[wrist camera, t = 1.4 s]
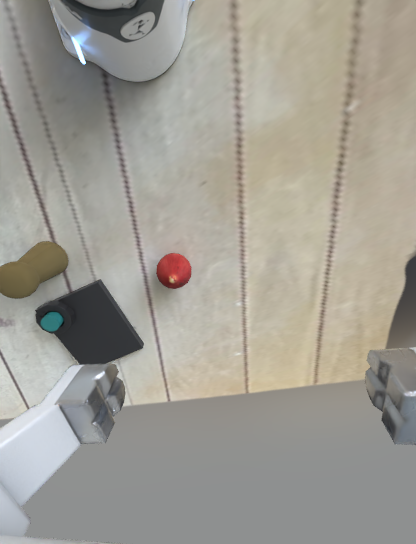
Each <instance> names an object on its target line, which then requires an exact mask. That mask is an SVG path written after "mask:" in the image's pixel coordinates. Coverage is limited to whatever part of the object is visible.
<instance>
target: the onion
mask: <svg viewBox="0 0 416 544" xmlns="http://www.w3.org/2000/svg"><path fill="white" fill-rule="evenodd" d="M156 274H157V277H158V279H159V281H160V282H161V283H162V284H163V285H164V286H166V287H168V288H172V289H176V288H180V287H182V286H184V285H185V284H186V283H188V281H189V279H190V277H191V266H190V263H189V261H188V260H187V259H186V258H185V257H184V256H182V255H180V254H175V253H171V254H168V255H166V256H164V257H163V258H162V259H161V260H160V261H159V263H158V265H157V272H156Z"/></svg>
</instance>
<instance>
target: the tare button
mask: <svg viewBox="0 0 416 544" xmlns="http://www.w3.org/2000/svg"><path fill="white" fill-rule="evenodd" d="M62 323H63V317H62V315H61V314H59V313H58V312H49V313H47V314H46V315H45V317H44V318H43V319H42V320H41V326H42V327H43V328H44V329H45V330H47V331H56V330H57V329H58V328H59V327H60V325H61V324H62Z"/></svg>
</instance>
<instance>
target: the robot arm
mask: <svg viewBox="0 0 416 544" xmlns="http://www.w3.org/2000/svg"><path fill="white" fill-rule="evenodd" d="M48 2H49V5H50V7H51V10H52V13H53V16H54V19H55V22H56V25H57V28H58V30H59V33H60V36H61V39H62V42H63V45H64V47H65V48H66V50H67V51H68V52H69V54H70V55H72V56H73V57H76V58H78V59H80V61H81V62H82V63H83V64H86V63H85V60H86V61H91V62H93V63H95V64H97V65H98V66H100V67H101V68H102V69H104V70H105V71H107V72H108V73H110V74H111V75H113V76H115V77H117V78H120V79H123V80H126V81H132V82H142V81H147V80H151V79H153V78H156V77H158V76H159V75H161V74H162V73H164V72H165V71H166V70H167V69H168V68H169V67H170V66H171V65H172V64H173V62H174V61H175V59H176V58H177V56H178V54H179V52H180V50H181V47H182V44H183V41H184V37H185V32H186V24H187V16H188V11H189V8H190V6H191V4H192V2H193V0H48ZM68 34H69V36H68ZM367 361H368V363H369V365H370V366H371V367H370V368H369V369H368V370H367V371H366V374H365V383H366V388H367V392H368V394H369V397H370V399H371V401H372V403H373V405H374V406H375V407H377V408H378V409H379V410H381V411H382V412H383V414H382V422H383V423H384V425H385V427H386V429H387V431H388V433H389V434H390V436H391V438H392V440H393V442H394V444H410V445H416V347H414V348H400V349H384V350H370V351H369V353H368V356H367ZM118 372H119V371H118V369H117V367H116V365H115V364H86V365H72V366H70V367H69V368H68V369H67V370H66V371H65V373H64V374H63V375H62V376H61V378H60V379H59V380H58V381H57V383H56V384H55V385H54V387H53V388H52V389H51V390H50V392H49V393H48V394H47V395H46V397H45V398H44V399H43V400H42V402H41V403H40V404H39V405H34V406H33V407H31V408H30V409H28V410H27V411H25V412H24V413H22V414H21V415H19V416H18V417H16V418H15V419H13V420H12V421H10V422H9V423H8V424H6V425H5V426H3V427H2V428H0V544H121V543H107V542H106V543H105V542H93V541H78V540H63V539H50V538H36V537H23V536H24V534H25V533H26V531H27V529H28V527H29V525H30V524H31V522H30V517H29V516H28V514H27V513H26V512H25V511H24V510H23V509H22V508H21V507H22V506H23V505H24V504H25V503H26V502H27V501H28V500H29V499H30V498H31V497H32V496H33V495H34V494H35V493H36V492H37V491H38V490H39V489H40V488H41V487H42V486H43V484H44V483H45V482H46V481H47V480H48V479H49V478H50V477H51V476H52V475H53V474H54V473H55V472H56V471H57V470H58V469H59V468H60V467H61V466H62V465H63V464H64V463H65V461H67V459H69V458H70V456H71V455H72V454H73V453H74V452H75V451H76V450H77V449H78V448H79V447H80V446H81V444H95V443H106V441H107V439H108V437H109V435H110V432H111V430H112V428H113V426H114V423H115V422H114V416H115V414H117V413H118V412H119V411H120V410H121V408H122V406H123V403H124V399H125V386H124V384H123V381H121V380H120V379H119V378H118V377H117V374H118Z"/></svg>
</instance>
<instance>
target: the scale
mask: <svg viewBox="0 0 416 544" xmlns="http://www.w3.org/2000/svg"><path fill="white" fill-rule="evenodd" d="M35 311H36V312H37V313H36V322H37V323H38V325H39V326H40V327H41V328H42V329H43V330H45V329H44V328H43V327H42V326H41V320H42V319H43V318H44V317H45V315H46V314H47V313H49V312H58V313H59V314H61V315H62V317H63V323H62V324H61V325H60V327H59V328H58V329H57V330H56V331H47V330H45V331H47V332H49V333H54V334H55V335H56V336H57V337H58V338H59V340H60V341H61V342H62V343H63V344H64V346H65V347H66V348H67V349H68V350H69V352H70V353H71V354H72V355H73V356H74V358H75V359H76V360H77V361H78V362H79V364H80V365H86V364H106V363H108V362H110V361H113V360H115V359H118V358H120V357H122V356H125V355H127V354H130V353H132V352H134V351H137V350H139V349H142V348H143V345H144V343H143V342H142V340H141V339H140V337H139V336H138V334H137V333H136V331H135V330H134V328H133V327H132V325H131V324H130V322H129V321H128V319H127V318H126V317H125V315H124V314H123V312H122V311H121V309H120V308H119V306H118V305H117V303H116V302H115V300H114V299H113V297H112V296H111V294H110V293H109V291H108V290H107V288H106V287H105V285H104V284H103V282H102V281H101V280H98V281H95V282H93V283H91V284H89V285H87V286H84V287H82V288H80V289H78V290H75V291H73V292H71V293H69V294H67V295H64V296H62V297H60V298H58V299H55V300H53V301H49V302H47V303H45V304H43V305H42V306H40V307H38V308H37V309H36V310H35Z"/></svg>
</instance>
